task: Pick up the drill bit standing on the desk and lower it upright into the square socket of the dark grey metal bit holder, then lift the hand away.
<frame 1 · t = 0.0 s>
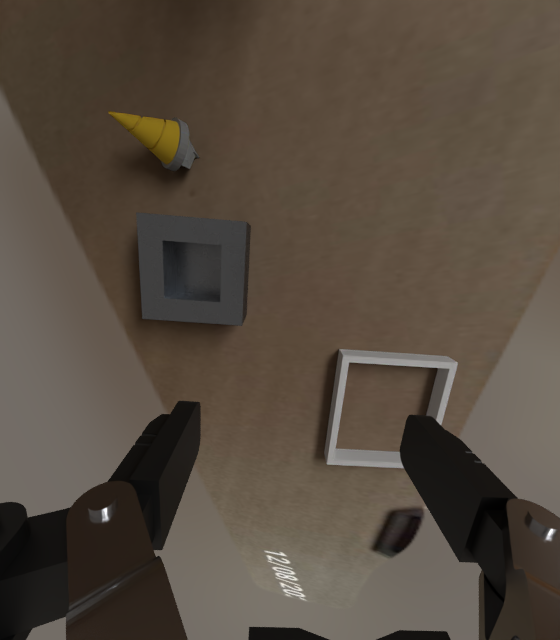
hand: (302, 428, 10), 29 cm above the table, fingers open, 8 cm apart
drill bit: (173, 153, 34), on the table
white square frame: (382, 406, 44), on the table
bit holder: (203, 268, 37), on the table
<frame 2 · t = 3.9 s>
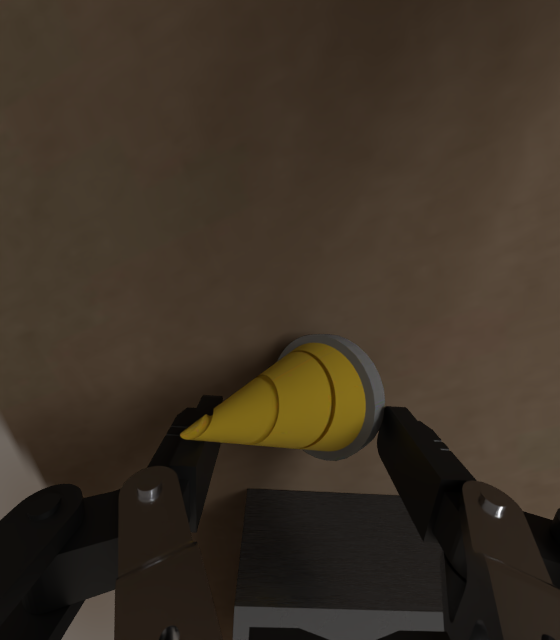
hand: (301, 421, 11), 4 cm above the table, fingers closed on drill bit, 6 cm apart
drill bit: (294, 372, 14), on the table, touching gripper
bit holder: (335, 566, 18), on the table
when the fingers open (7 cm above the table, at t = 10.4 s): drill bit drops 2 cm, resting on bit holder.
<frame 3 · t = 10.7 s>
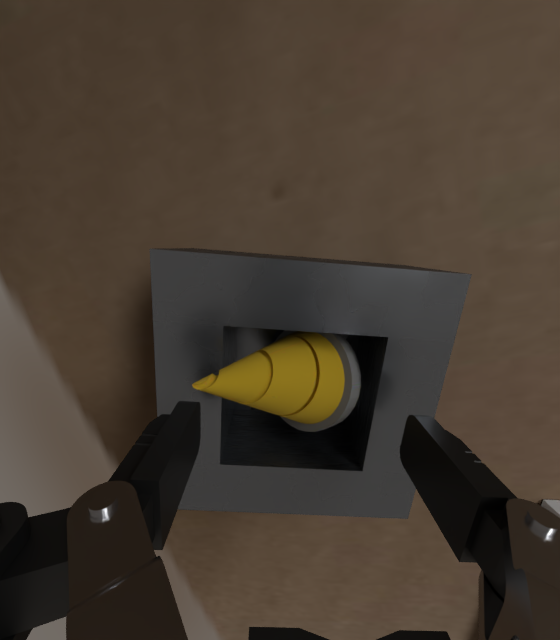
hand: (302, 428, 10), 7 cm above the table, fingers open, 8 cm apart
drill bit: (285, 357, 16), point 1 cm above the table, touching bit holder
bit holder: (291, 356, 17), on the table
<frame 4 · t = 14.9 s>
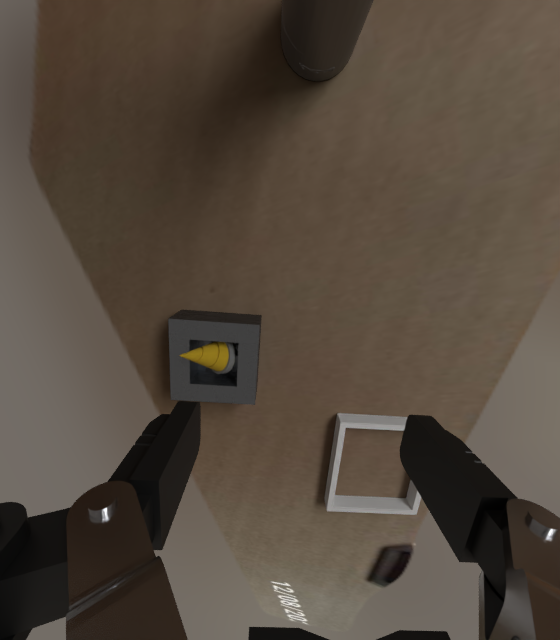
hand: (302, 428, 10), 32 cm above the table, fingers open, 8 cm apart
drill bit: (217, 349, 43), point 1 cm above the table, touching bit holder
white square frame: (375, 460, 50), on the table
bit holder: (221, 349, 44), on the table
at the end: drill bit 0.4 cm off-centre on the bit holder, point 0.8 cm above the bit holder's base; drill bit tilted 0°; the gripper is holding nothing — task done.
